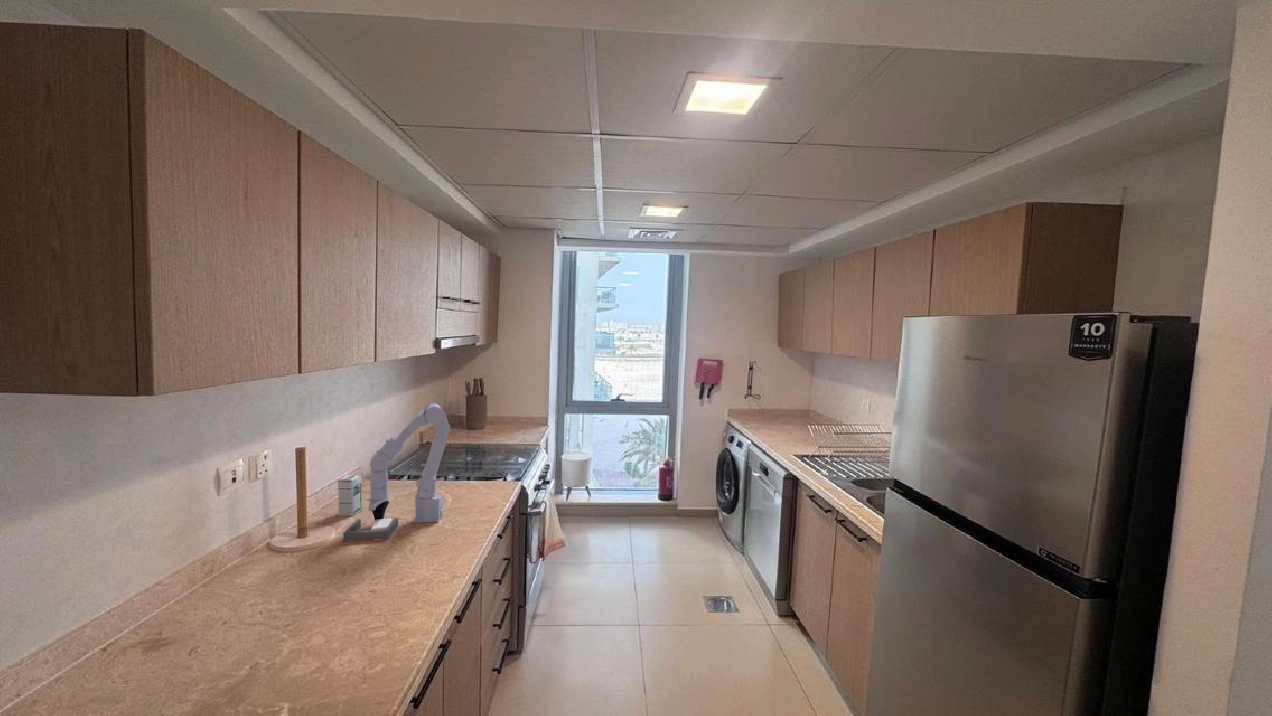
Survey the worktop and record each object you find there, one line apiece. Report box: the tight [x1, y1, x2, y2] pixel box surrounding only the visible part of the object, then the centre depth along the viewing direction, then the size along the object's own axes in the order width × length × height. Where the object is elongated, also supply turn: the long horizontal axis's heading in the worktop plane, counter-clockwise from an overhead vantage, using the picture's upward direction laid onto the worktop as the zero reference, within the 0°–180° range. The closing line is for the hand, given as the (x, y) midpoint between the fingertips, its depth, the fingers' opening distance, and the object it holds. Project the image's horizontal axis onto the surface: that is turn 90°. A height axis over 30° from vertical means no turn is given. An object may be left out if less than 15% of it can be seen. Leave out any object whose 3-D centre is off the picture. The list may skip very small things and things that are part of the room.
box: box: [342, 517, 399, 542], centre depth 172 cm, size 14×12×3 cm
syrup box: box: [337, 474, 363, 517], centre depth 189 cm, size 6×6×14 cm
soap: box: [370, 517, 393, 530], centre depth 174 cm, size 9×6×3 cm, turn 18°
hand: (379, 522), depth 179 cm, fingers closed
